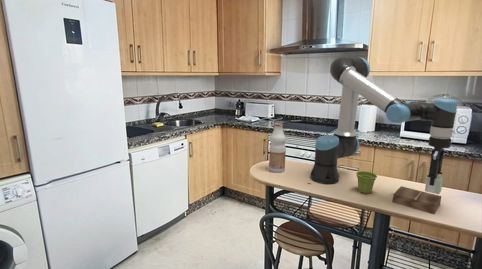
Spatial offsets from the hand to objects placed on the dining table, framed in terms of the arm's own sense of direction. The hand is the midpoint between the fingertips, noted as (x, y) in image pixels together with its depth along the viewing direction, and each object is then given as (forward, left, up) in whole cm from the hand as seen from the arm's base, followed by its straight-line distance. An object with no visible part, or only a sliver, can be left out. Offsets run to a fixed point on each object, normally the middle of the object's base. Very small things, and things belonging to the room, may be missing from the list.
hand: (432, 190), depth 120 cm
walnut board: (-5, 0, -8) cm, 9 cm away
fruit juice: (-76, -8, -8) cm, 77 cm away
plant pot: (-27, -2, -8) cm, 28 cm away
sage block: (0, 0, 0) cm, 0 cm away
